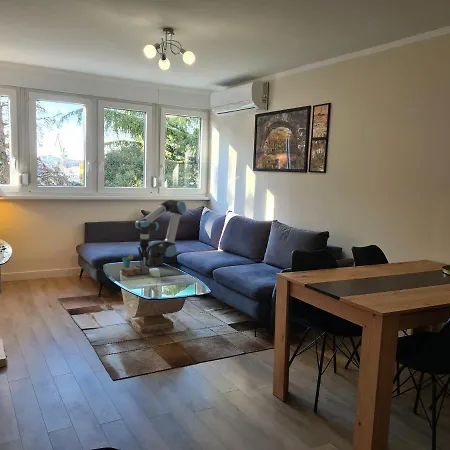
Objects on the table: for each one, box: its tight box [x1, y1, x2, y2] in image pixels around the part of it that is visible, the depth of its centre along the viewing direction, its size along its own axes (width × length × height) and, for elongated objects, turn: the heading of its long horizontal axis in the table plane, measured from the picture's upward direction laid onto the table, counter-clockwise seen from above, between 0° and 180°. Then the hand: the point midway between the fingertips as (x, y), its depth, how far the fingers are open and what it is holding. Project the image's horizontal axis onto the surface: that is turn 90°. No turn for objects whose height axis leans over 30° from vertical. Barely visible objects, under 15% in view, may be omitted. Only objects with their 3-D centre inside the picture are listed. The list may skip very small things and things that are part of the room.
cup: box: [117, 253, 134, 268], centre depth 398 cm, size 14×8×15 cm, turn 116°
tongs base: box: [120, 266, 150, 276], centre depth 387 cm, size 24×6×5 cm, turn 129°
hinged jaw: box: [123, 268, 142, 277], centre depth 383 cm, size 18×3×5 cm, turn 128°
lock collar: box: [135, 260, 149, 275], centre depth 389 cm, size 6×10×10 cm, turn 39°
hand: (143, 264), depth 390 cm, fingers closed
